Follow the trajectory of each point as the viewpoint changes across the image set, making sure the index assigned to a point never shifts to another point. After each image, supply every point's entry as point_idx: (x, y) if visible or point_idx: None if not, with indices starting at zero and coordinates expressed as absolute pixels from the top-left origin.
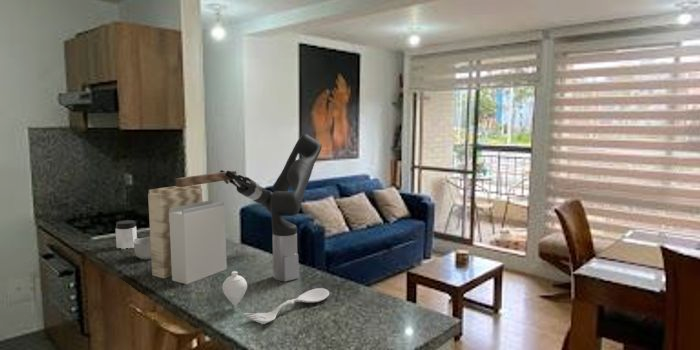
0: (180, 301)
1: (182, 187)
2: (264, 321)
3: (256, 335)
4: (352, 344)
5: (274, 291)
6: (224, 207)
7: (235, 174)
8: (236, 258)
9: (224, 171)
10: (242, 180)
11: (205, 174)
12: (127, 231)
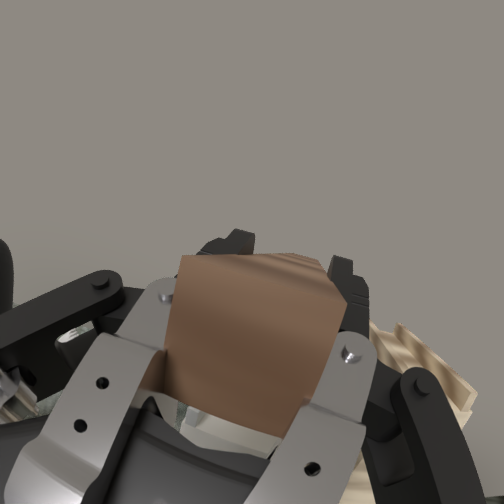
0: (183, 407)
1: (382, 340)
2: (72, 329)
3: (80, 333)
4: (17, 304)
5: (41, 401)
6: (181, 426)
7: (165, 281)
8: None
9: (331, 275)
10: (60, 351)
11: (318, 264)
12: None
